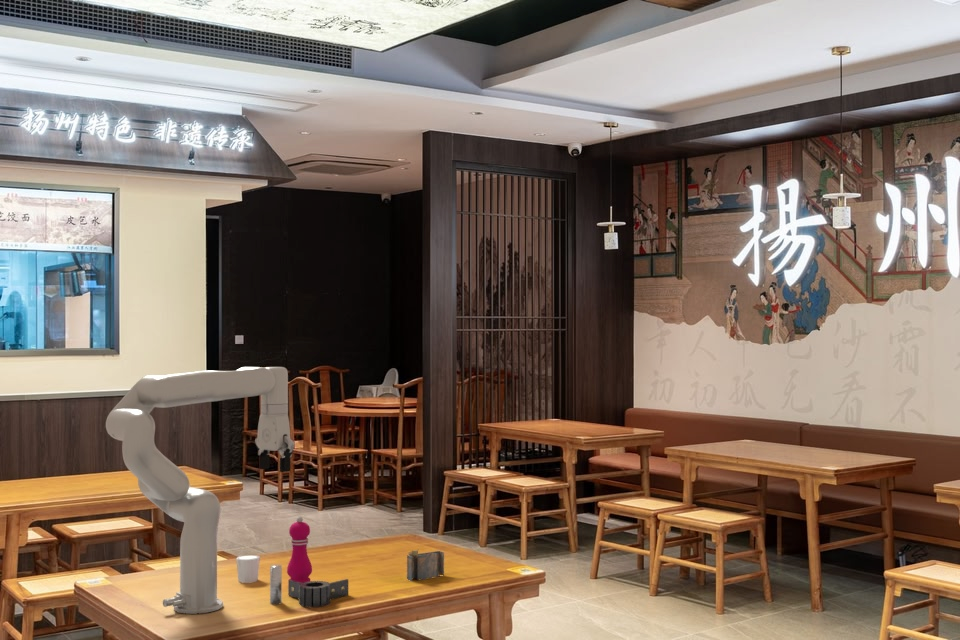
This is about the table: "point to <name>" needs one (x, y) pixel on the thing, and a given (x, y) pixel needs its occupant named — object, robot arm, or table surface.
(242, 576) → the white cup
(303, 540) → the pepper mill
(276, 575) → the hinge pin
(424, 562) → the rusty metal bracket
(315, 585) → the hinge
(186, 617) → the table surface
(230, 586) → the table surface
